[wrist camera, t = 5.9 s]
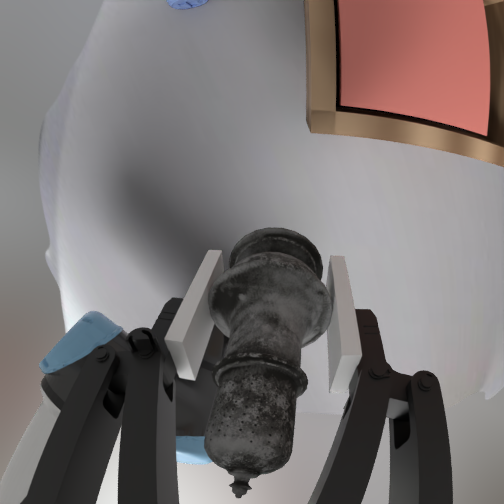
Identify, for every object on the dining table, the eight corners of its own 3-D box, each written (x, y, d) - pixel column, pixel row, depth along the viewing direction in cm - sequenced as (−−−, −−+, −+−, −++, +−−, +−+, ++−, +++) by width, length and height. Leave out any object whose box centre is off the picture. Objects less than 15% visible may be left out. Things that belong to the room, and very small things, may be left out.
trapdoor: (339, 104, 19) (341, 105, 18) (330, -56, 11) (331, -61, 10) (480, 133, 17) (486, 136, 16) (474, -14, 9) (479, -16, 8)
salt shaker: (329, 305, 17) (331, 508, 7) (236, 309, 18) (185, 495, 8) (325, 217, 14) (350, 485, 4) (213, 227, 15) (103, 449, 5)
